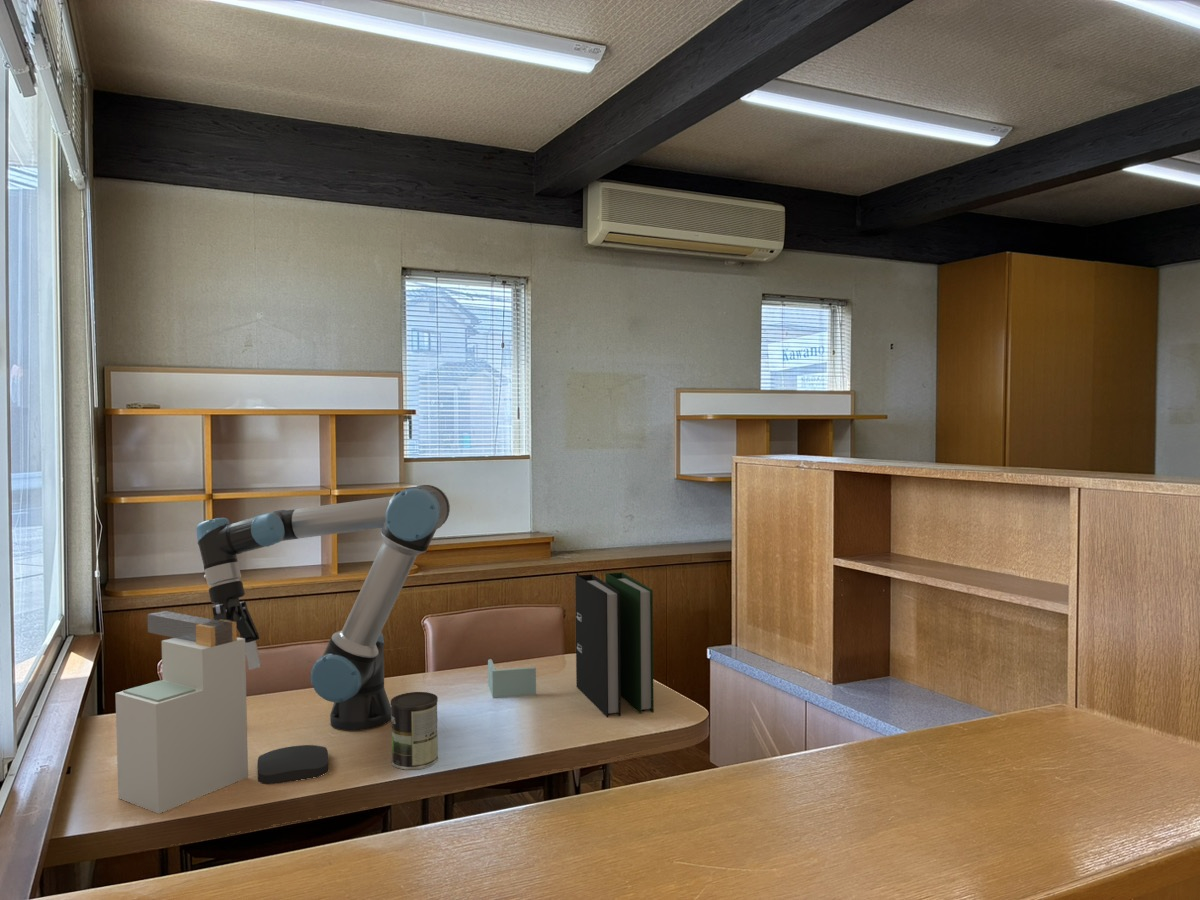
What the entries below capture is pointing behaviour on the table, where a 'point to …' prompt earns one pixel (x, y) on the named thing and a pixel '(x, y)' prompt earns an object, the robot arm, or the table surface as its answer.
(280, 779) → the media streaming box
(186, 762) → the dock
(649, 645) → the dark upright rectangular slabs
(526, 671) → the right angle wall
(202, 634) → the grey rectangular bar
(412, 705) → the coffee can
